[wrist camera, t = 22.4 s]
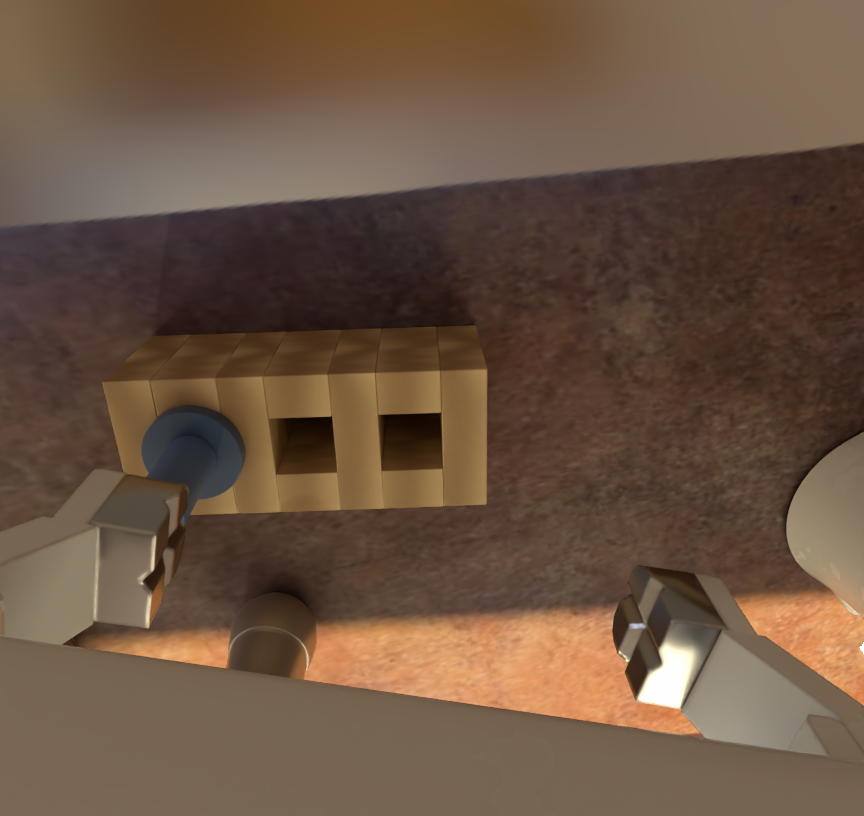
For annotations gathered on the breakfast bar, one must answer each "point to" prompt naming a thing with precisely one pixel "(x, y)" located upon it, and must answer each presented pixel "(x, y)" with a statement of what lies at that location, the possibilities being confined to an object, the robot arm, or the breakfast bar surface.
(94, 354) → the breakfast bar surface
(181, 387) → the rack
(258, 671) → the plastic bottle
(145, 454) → the peg
